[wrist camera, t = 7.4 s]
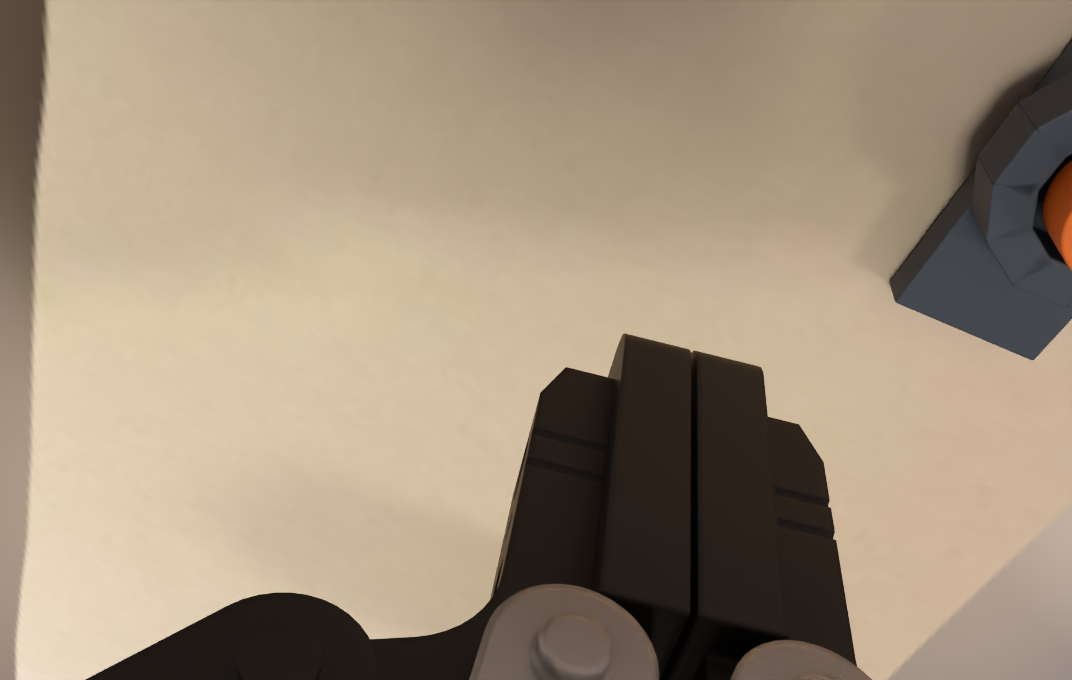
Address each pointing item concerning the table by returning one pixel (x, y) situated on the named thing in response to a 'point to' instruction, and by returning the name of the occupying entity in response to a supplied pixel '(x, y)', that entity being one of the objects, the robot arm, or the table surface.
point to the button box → (1002, 233)
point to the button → (1060, 212)
